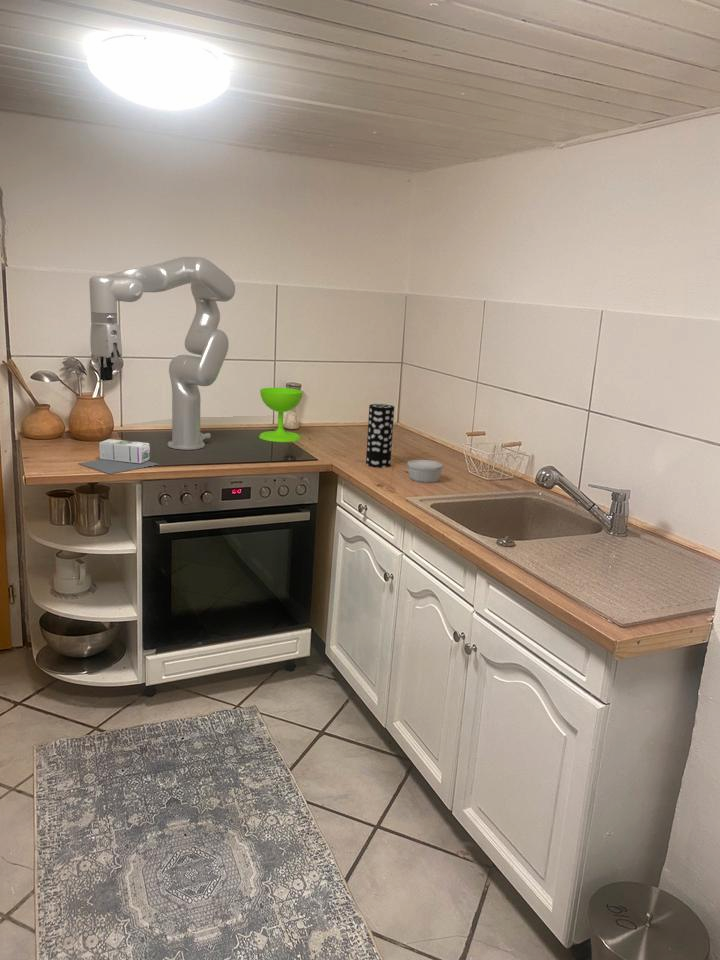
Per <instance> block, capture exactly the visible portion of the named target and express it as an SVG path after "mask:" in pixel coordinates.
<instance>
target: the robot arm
mask: <svg viewBox="0 0 720 960" xmlns="http://www.w3.org/2000/svg"><path fill="white" fill-rule="evenodd" d="M88 284H89V300H90V302H89V304H90V305H89V306H90V323H91V324H90V325H91V326H90V336H89V337H90V340H89V341H90V352H91V354H92V355H93V358H94V359H95V360H96V361H97V363H98V367H99V371H100V372H99V377H100V380H101V381H104V382H105V381H113V380H114V379H113V367H114V363H118V361H119V359H118V358H122V356H123V345H122V336H121V329H120V326H119V324H118V302H123V303H134V302H137V301H139V300H140V299H141V298H142V296H143V294H144V293H160V292H166V291H169V290H172V289H174V288H178V287H181V286H185V285H188V284H190V291H191V293H192V294H191V295H192V296H193V299H194V302H195V309H196V310H195V314H194V317H193V319H192V322H191V324H190V326H189V328H188V332H187V334H186V336H185V339H184V348H185V350H186V351H187V352H189V353H191V354H193V355H190V354H181V355H180V354H179V355H177V356H174V357H173V358H172V359H171V361H170V362H169V366H168V374H169V378H170V383H171V395H172V397H171V401H172V402H171V411H172V412H171V417H172V418H171V421H172V422H171V428H172V429H171V430H172V431H171V434H172V435H171V439H172V440H169V441H168V442H167V447H168V448H171V449H174V450H184V451H185V450H186V451H187V450H188V451H190V450H199V449H203V448H204V447H205V442H204V441H205V440H207V439H211V433H210V432H205V433H203V432H201V402H202V401H201V392H200V388H199V387H209V386H211V385H213V384H214V383H215V382H216V380H217V379H218V376H219V373H220V371H221V369H222V366H223V364H224V362H225V359H226V357H227V354H228V350H229V345H230V344H229V338H228V335H227V334H226V333H225V331H224V330H222V329H218V327H219V324H220V321H221V312H220V309H219V307H218V306H219V305H218V303H217V302H222V303H225V302H229V301H231V299H233V297H234V296H235V294H236V284H235V282H234V281H233V279H232V278H231V277H230V276H229V275H228V274H226V272H224V271H223V270H222V269H221V268H219V267H218V266H217V265H215V264H214V263H213V262H211V261H210V259H206V258H205V257H198V256H182V257H177V258H174V259H171V260H167V261H164V262H160V263H156V264H152V265H146V266H141V267H138V268H137V267H136V268H131V269H127V270H122V271H117V272H114V273H110V274H108V275H106V276H105V275H103V276H101V275H93V276H91V277H90V278H89V283H88ZM195 355H198V356H195Z"/></svg>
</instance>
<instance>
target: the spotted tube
mask: <svg viewBox="0 0 720 960" xmlns="http://www.w3.org/2000/svg"><path fill="white" fill-rule="evenodd" d="M368 407H369V409H368V423H367V437H366V439H367V440H366V453H365V455H366V457H365V465H366V466H367V467H371V468H378V469H380V468H381V469H383V468H390V467H391V459H392V447H393V436H394V435H393V434H394V433H393V431H394V419H395V406H394V405H392V404H391V405H390V404H382V403H373V404H369V406H368Z"/></svg>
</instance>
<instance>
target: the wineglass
mask: <svg viewBox="0 0 720 960" xmlns="http://www.w3.org/2000/svg"><path fill="white" fill-rule="evenodd" d="M259 391H260V397H261V399H262V402H263V404H265V406H266V407H268V408H269V409H270V410H272V411H275V412H278V413H277V414H278V415H277V416H278V417H277V429H276V430H271V431H263V432H261V433H260V434H259V436H258V437H259V439H261V440H264V441H269V442H278V443H290V442H297V441H300V440H301V439H302V437H301V435H299V433H296V432H292V431H286V430H285V429H284V413H285V412H290V411H291V410H293V409H295V408H296V407H297V406H298V405H299V403H300V402H301V400H302V398H303V391H302V390H301V389H298V388H297V389H296V388H290V387H289V388H288V387H265V388H260V390H259Z"/></svg>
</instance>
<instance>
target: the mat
mask: <svg viewBox="0 0 720 960" xmlns="http://www.w3.org/2000/svg"><path fill="white" fill-rule="evenodd" d="M79 464H80V466H83V467H86V468H89V469H91V470H92V469H93V470H95V471H98V472H102V473H104V474H108V475H112V474H119V473H125V472H130V471H135V470H141V469H145V468H144V467H147V468H149V467H148V466H152V467H155V466H154V465H158V466H160V464H159V463H156V462H153V461H150V460H148V461H145V462H143V463H141V464H140V463H131V462H121V461H112V460H104V459H96V460H90V461H83V462H79V463H78V465H79ZM140 468H141V469H140Z"/></svg>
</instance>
